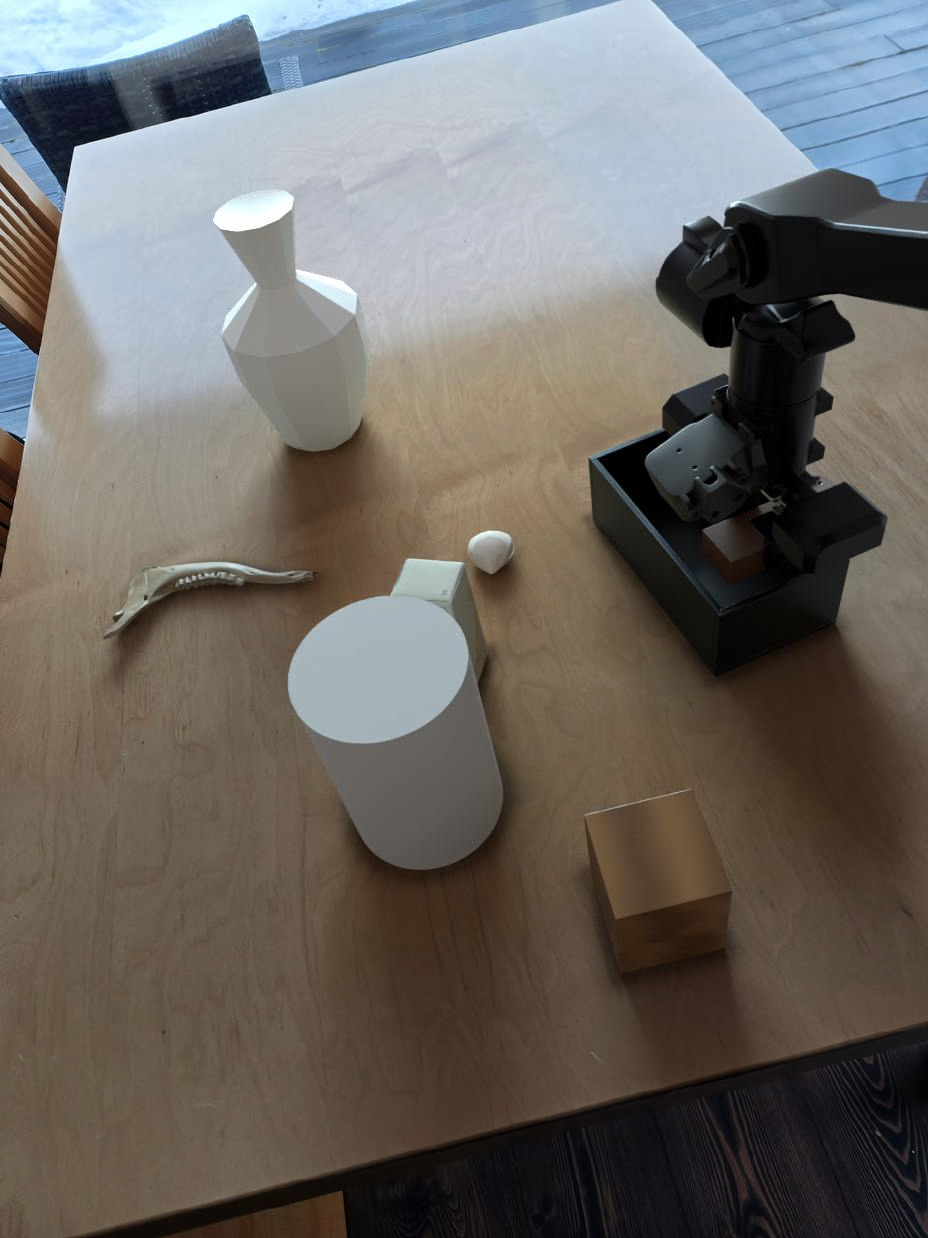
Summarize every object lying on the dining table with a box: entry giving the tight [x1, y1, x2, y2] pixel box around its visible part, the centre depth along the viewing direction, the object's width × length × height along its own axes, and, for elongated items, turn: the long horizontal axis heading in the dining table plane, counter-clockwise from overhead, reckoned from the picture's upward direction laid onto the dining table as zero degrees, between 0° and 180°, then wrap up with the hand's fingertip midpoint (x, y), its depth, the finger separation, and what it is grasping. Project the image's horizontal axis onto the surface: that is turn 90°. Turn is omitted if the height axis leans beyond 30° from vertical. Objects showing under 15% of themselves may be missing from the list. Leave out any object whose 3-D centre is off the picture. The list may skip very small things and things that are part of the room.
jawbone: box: [102, 561, 320, 640], centre depth 90 cm, size 9×20×2 cm, turn 107°
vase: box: [212, 188, 370, 453], centre depth 94 cm, size 14×14×25 cm
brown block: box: [701, 502, 789, 585], centre depth 71 cm, size 7×4×2 cm, turn 112°
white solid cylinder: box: [287, 595, 504, 871], centre depth 65 cm, size 12×12×17 cm
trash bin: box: [587, 426, 851, 678], centre depth 79 cm, size 21×11×8 cm, turn 23°
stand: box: [583, 788, 733, 975], centre depth 60 cm, size 7×7×9 cm
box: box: [389, 558, 489, 684], centre depth 75 cm, size 5×4×11 cm
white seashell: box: [467, 530, 515, 575], centre depth 85 cm, size 4×5×2 cm
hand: (755, 549), depth 72 cm, fingers closed on brown block, 4 cm apart
